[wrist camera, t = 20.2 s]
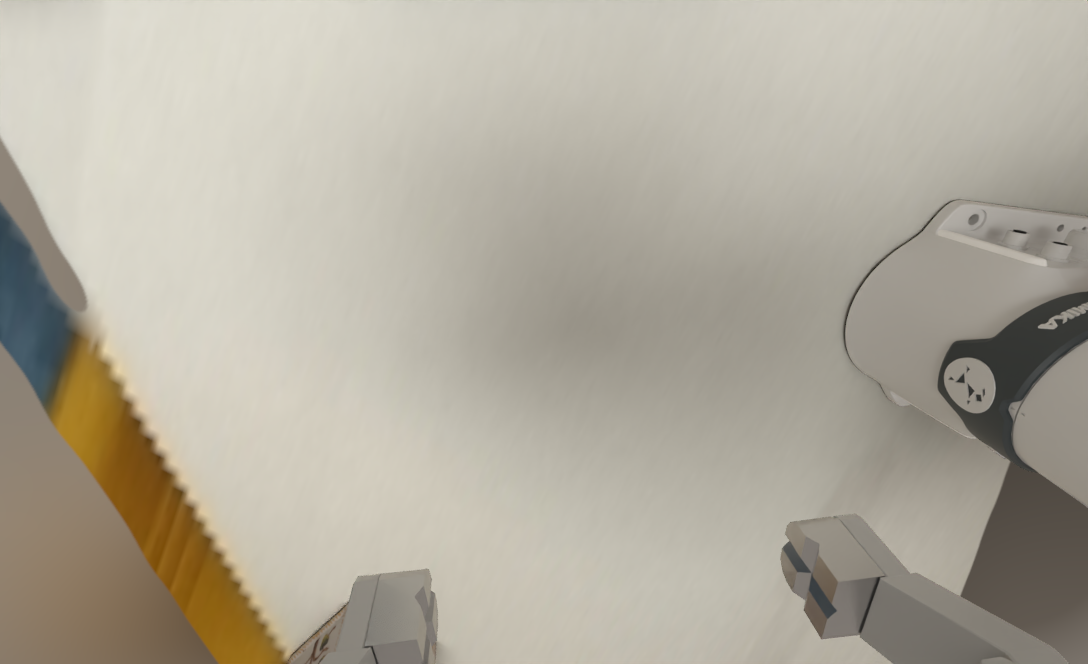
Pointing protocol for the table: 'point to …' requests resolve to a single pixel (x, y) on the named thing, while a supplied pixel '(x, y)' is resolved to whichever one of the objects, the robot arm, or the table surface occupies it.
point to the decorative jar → (324, 642)
